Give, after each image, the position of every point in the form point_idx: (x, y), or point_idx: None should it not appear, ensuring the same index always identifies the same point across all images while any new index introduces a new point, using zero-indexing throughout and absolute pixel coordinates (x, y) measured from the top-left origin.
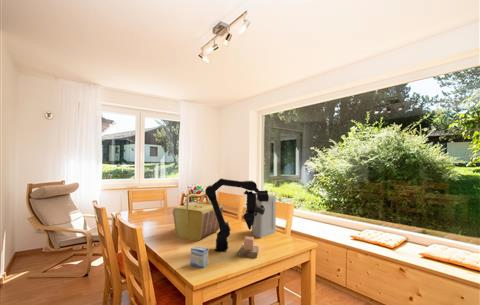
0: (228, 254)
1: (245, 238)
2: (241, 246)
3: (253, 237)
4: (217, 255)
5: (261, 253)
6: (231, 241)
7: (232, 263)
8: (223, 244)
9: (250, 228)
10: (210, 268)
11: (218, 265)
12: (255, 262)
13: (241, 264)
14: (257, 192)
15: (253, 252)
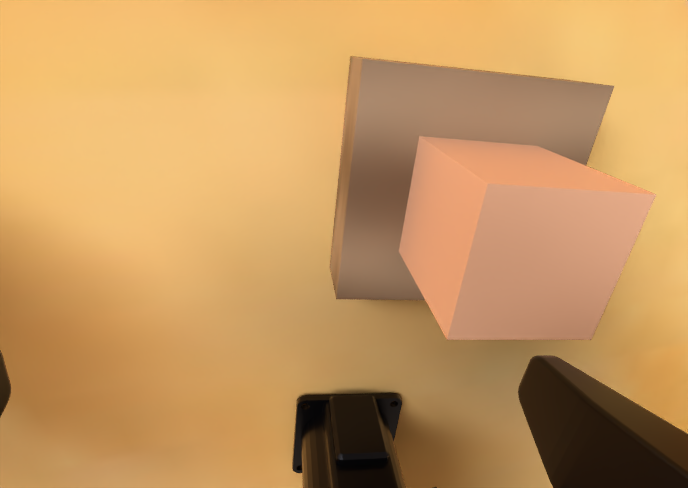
0: (455, 359)
1: (564, 325)
2: (395, 295)
3: (524, 191)
4: (474, 424)
5: (427, 7)
6: (80, 400)
7: (642, 299)
8: (396, 464)
9: (581, 382)
10: (681, 409)
11: (651, 379)
12: (675, 94)
13: (680, 228)
14: None
15: (595, 133)
